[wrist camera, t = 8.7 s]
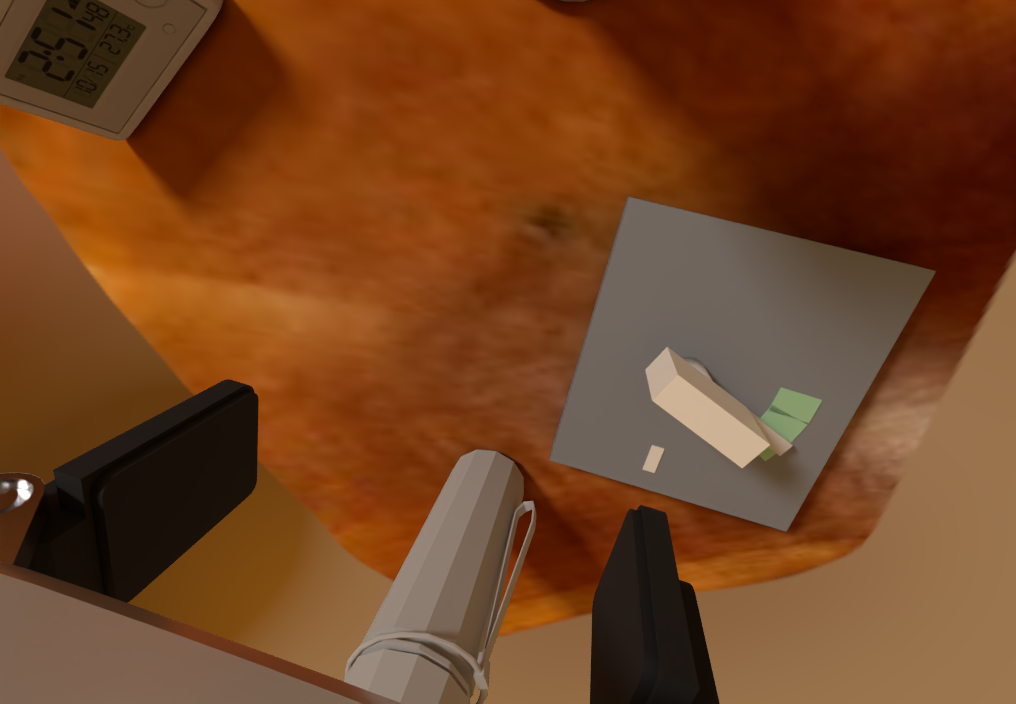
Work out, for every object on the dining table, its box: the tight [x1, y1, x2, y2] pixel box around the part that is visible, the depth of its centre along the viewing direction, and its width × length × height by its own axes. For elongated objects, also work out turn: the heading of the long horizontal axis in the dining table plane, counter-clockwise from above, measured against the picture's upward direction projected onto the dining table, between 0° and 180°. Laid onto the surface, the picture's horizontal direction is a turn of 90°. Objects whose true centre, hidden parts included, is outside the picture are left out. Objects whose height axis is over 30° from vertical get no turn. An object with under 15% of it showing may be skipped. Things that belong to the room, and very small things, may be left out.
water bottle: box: [343, 450, 536, 704], centre depth 33 cm, size 9×8×25 cm
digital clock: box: [0, 0, 223, 140], centre depth 32 cm, size 16×9×11 cm, turn 116°
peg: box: [645, 347, 793, 468], centre depth 32 cm, size 12×2×8 cm, turn 55°
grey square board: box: [550, 196, 936, 531], centre depth 36 cm, size 22×20×3 cm
